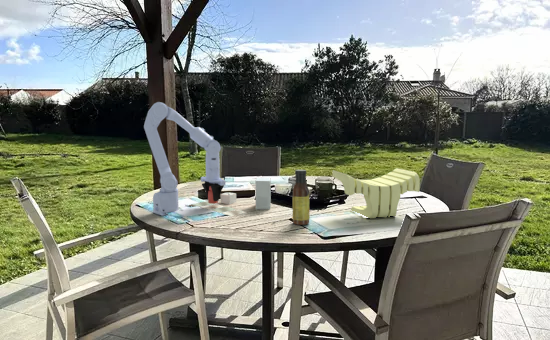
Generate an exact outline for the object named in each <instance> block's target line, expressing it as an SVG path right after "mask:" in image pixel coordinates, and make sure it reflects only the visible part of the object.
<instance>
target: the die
mask: <svg viewBox="0 0 550 340" xmlns="http://www.w3.org/2000/svg"><path fill="white" fill-rule="evenodd" d="M235 203H237V193H235V192H224V193H220V204H226V205H231V204H235Z"/></svg>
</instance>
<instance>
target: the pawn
mask: <svg viewBox="0 0 550 340" xmlns="http://www.w3.org/2000/svg"><path fill="white" fill-rule="evenodd" d="M207 202H208V203H211V204H212V205H214V203H215V204H219V201H214V200H213V192H212V189H211V186H210V187H209V191H208V199H207Z"/></svg>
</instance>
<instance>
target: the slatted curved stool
mask: <svg viewBox="0 0 550 340" xmlns="http://www.w3.org/2000/svg"><path fill="white" fill-rule="evenodd" d="M332 177H333V178H335V179H337V180H338V181H340V183H342V186H343V189H344V194H345V195H347V196H352V195H355V194H357V195H359V194H360V195H363V198H364V200H365V203H366V204H365V205H360V206H357V205H355V206H351V208H350V210H352V211H355V212H357V213H360V214H362V215H364V216H366V217H368V218H370V219H377V218H376V217H385V218H391V217H390V216H397V212H398V211H397V210H398V205H399V202H400V200H401V195H404V194H405V193H408V192H416V193H417V192H418V193H419V192H420V186H421V185H420V184H421V183H420V182H421V179H420V176H419V174H418V173H417V172H415V171H411V170H407V169H403V168H399V167H397V168H394V169H393V170H392V171H390V172H388V173H386V174H384V175H381V176H380V177H375V178H371V179H357V178H355V177H353V176H351V175H349V174H347V173H344V172H340V171H337V170H334V169H333V170H332ZM387 216H388V217H387Z"/></svg>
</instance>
